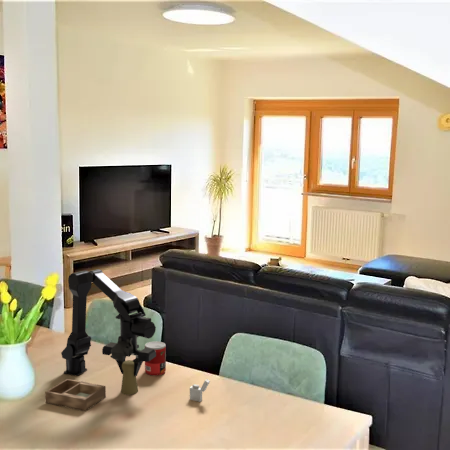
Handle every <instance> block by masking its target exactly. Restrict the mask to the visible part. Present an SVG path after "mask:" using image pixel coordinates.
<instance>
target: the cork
mask: <svg viewBox="0 0 450 450" xmlns="http://www.w3.org/2000/svg"><path fill="white" fill-rule="evenodd" d="M122 370H123V374H122V379H121V380H122V381H121V388H120V389H121V390H120V393H121V394H123V395H126V396H127V395H129V396H131V395H135V394H137V393H138V392H139V388H138V382H137V381H138V380H137V376H136V377H135V376H134V362H133V359H132V360H131V359H130V360H128V359H127V360H125V361H124V362H123V363H122Z"/></svg>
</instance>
